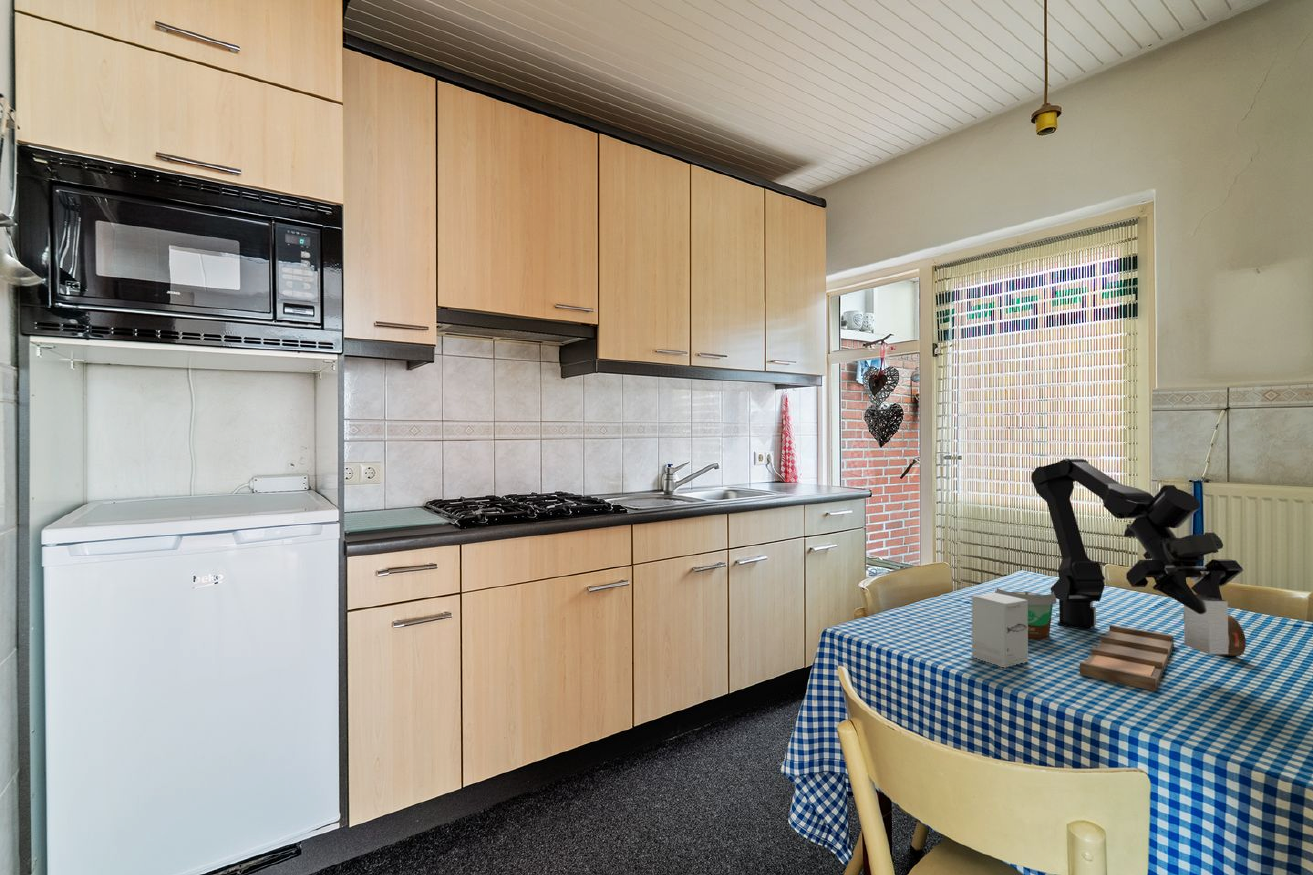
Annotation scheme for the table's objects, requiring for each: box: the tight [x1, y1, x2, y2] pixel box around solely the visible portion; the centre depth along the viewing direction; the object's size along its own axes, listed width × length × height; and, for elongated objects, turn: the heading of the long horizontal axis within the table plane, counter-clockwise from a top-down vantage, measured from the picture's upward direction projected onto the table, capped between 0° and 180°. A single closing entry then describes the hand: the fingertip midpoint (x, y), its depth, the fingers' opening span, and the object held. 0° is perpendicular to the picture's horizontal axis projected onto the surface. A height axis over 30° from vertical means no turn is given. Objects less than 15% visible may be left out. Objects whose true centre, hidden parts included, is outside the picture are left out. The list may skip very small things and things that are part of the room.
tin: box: [1183, 612, 1247, 657], centre depth 128 cm, size 15×3×8 cm, turn 168°
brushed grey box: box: [1183, 593, 1229, 655], centre depth 111 cm, size 5×4×10 cm
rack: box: [1079, 624, 1175, 692], centre depth 121 cm, size 11×34×2 cm, turn 135°
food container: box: [994, 587, 1057, 641], centre depth 136 cm, size 12×6×10 cm, turn 68°
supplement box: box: [971, 592, 1029, 669], centre depth 121 cm, size 7×7×13 cm
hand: (1212, 612), depth 110 cm, fingers closed on brushed grey box, 3 cm apart
